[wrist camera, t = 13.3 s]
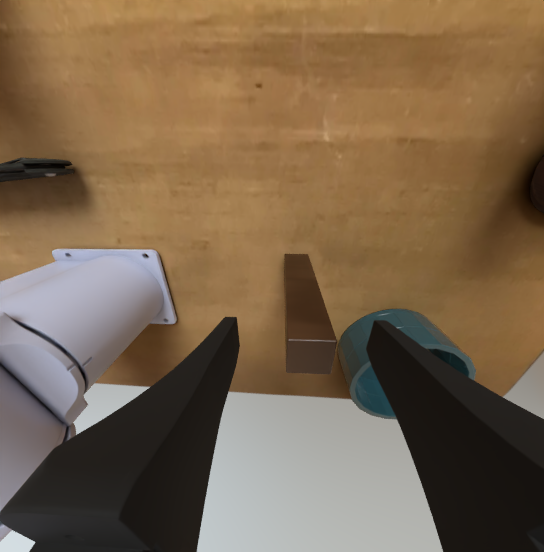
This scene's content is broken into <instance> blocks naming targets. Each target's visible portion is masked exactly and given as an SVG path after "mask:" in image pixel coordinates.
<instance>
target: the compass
mask: <svg viewBox="0 0 544 552" xmlns="http://www.w3.org/2000/svg"><path fill="white" fill-rule="evenodd" d="M530 191H531V200H532V202H533V204H534V206H535V208H537V209H538V210H540V211H541V212H542V213H544V155H543V157H542V159H541V161H540V162H539V164H538V166H537V168H536V169H535V173H534V176H533V180H532V183H531V186H530Z"/></svg>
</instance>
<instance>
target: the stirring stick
mask: <svg viewBox="0 0 544 552" xmlns="http://www.w3.org/2000/svg"><path fill="white" fill-rule="evenodd" d="M284 287H285V345H286V372H287V373H309V374H331V371H332V365H333V360H334V355H335V350H336V344H337V340H336V337H335V334H334V331H333V328H332V325H331V322H330V319H329V316H328V313H327V310H326V307H325V304H324V301H323V298H322V295H321V292H320V289H319V286H318V283H317V280H316V277H315V274H314V271H313V268H312V265H311V262H310V259H309V256H308V254H285V265H284Z"/></svg>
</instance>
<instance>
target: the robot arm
mask: <svg viewBox="0 0 544 552" xmlns="http://www.w3.org/2000/svg"><path fill="white" fill-rule="evenodd" d="M145 254H147V255H148V257H147V256H146V255H145ZM52 255H53V257H54V259H55V261H56V262H53V263H50V264H48V265H45V266H42V267H39V268H37V269H34V270H31V271H28V272H26V273H23V274H20V275H17V276H15V277H12V278H9V279H6V280H4V281H1V282H0V541H1V540H2V539H3V538H4V537H5V536H6V535H7V534H8V533H9V532H10V531H11V530H14V531H15V532H18V533H19V534H22V535H23V536H25V537H27V538H29V539H31V540H33V541H35V542H36V543H35V544H34V546H33V547H32V549H31V550H30V552H197V545H198V539H199V533H200V527H201V521H202V515H203V509H204V503H205V497H206V492H207V486H208V481H209V475H210V469H211V465H212V459H213V454H214V449H215V444H216V439H217V434H218V429H219V424H220V420H221V416H222V412H223V408H224V404H225V401H226V398H227V394H228V391H229V388H230V384H231V381H232V378H233V374H234V371H235V367H236V364H237V358H238V353H239V347H240V344H239V335H238V326H237V317H225V318H224V319H223V320H222V321H221V322H220V323H219V324H218V325H217V326H216V328H215V329H214V330H213V331H212V332H211V333H210V334H209V335H208V336H207V337H206V338H205V340H204V341H203V342H202V343H201V344H200V345H199V346H198V347H197V348H196V349H195V350H194V351H193V352H192V353H191V354H189V355H188V356H187V357H186V358H185V359H184V360H183V361H182V362H181V363H180V364H179V365H178V366H176V367H175V368H174V369H173V370H172V371H171V372H169V373H168V374H167V375H166V376H164V377H163V378H162V379H161V380H159V381H158V382H157V383H155V384H154V385H153V386H151V387H150V388H149V389H147V390H146V391H144V392H143V393H142V394H140V395H139V396H138V397H136V398H135V399H133V400H132V401H130V402H129V403H127V404H126V405H124V406H123V407H122V408H120V409H118V410H117V411H115V412H114V413H112V414H111V415H109V416H107V417H106V418H104V419H103V420H101V421H99V422H98V423H96V424H94V425H93V426H91V427H89V428H88V429H86V430H84V431H83V432H81V433H79V434H77V435H76V429H75V425H74V423H73V422H74V421H75V419H76V418H77V417H78V416H79V415H80V414H81V412H82V411H83V410H84V409H85V408H86V407H87V405H88V404H87V402H86V401H85V399H84V396H83V395H84V394H85V393H86V392H87V391H88V390H89V388H90V387H91V386H92V385H93V384H94V383H95V382H96V381H97V380H98V379H99V378H100V376H101V375H102V374H103V373H104V372H105V371H106V370H107V369H108V368H109V367H110V366H111V365H112V363H113V362H114V361H115V360H116V359H117V358H118V357H119V356H120V355H121V354H122V353H123V351H124V350H125V349H126V348H127V347H128V346H129V345H130V344H131V343H132V342H133V341H134V340H135V338H136V337H137V336H138V335H139V334H140V333H141V332H142V331H143V330H144V329H145V328H146V326H147V325H148V324H174V323H175V322H176V321H177V317H176V314H175V310H174V306H173V303H172V299H171V296H170V292H169V289H168V285H167V282H166V278H165V275H164V271H163V267H162V264H161V260H160V257H159V254H158V252H157V251H155V250H149V249H56V250H53V251H52ZM366 351H367V354H368V357H369V360H370V363H371V366H372V368H373V371H374V373H375V375H376V377H377V379H378V381H379V383H380V385H381V387H382V389H383V391H384V393H385V395H386V397H387V399H388V401H389V404H390V406H391V408H392V410H393V412H394V414H395V416H396V418H397V420H398V423H399V424H400V427H401V430H402V432H403V435H404V437H405V440H406V442H407V445H408V448H409V450H410V453H411V456H412V458H413V461H414V464H415V467H416V469H417V472H418V475H419V478H420V481H421V483H422V486H423V489H424V492H425V495H426V498H427V501H428V504H429V507H430V510H431V513H432V516H433V520H434V523H435V526H436V529H437V533H438V536H439V539H440V542H441V545H442V549H443V552H544V419H542V418H540V417H538V416H536V415H534V414H533V413H531V412H529V411H527V410H525V409H523V408H521V407H520V406H517V405H516V404H514V403H512V402H510V401H508V400H506V399H505V398H503V397H501V396H499V395H498V394H496V393H494V392H492V391H491V390H489V389H487V388H486V387H484V386H482V385H480V384H479V383H477V382H475V381H474V380H472V379H470V378H469V377H467V376H466V375H464V374H462V373H461V372H459V371H458V370H456V369H455V368H453V367H452V366H450V365H449V364H447V363H446V362H444V361H443V360H441V359H440V358H438V357H437V356H435V355H434V354H432V353H431V352H430V351H428V350H427V349H425V348H424V347H423V346H421V345H420V344H418V343H417V342H416V341H414V340H413V339H412V338H410V337H409V336H407V335H406V334H405V333H403V332H402V331H401V330H399V329H398V328H397V327H395V326H394V325H392V324H391V323H389V322H388V321H386V320H374V323H373V326H372V329H371V333H370V336H369V340H368V343H367V347H366Z"/></svg>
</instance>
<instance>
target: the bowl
mask: <svg viewBox="0 0 544 552" xmlns="http://www.w3.org/2000/svg"><path fill="white" fill-rule="evenodd" d="M374 320H386V321H388V322H389V323H391V324H392V325H394V326H395V327H397V328H398V329H399V330H401V331H402V332H403V333H405V334H406V335H407V336H409V337H410V338H412V339H413V340H414V341H416V342H417V343H418V344H420V345H421V346H423V347H424V348H425V349H429V350H430V351H431V353H432V354H434V355H435V356H437V357H438V358H440V359H441V360H443V361H444V362H446V363H447V364H449V365H450V366H452V367H453V368H455V369H456V370H458V371H459V372H461V373H462V374H464V375H466V376H467V377H469V378H470V379H472V380H474V379H475V373H476V369H475V367H474V365H473V362H472V360H471V358H470V357H469V356H468V355H467V354H465V353H464V352H463V351H462V350H461V349H460V348H459V347H458V346H457V345H456V344H455V343H454V342H453V341H452V340H451V339H450V338H449V337H448V336H447V335H446V334H445V333H443V332H442V331H441V330H440V329H439V328H438V327H437V326H436V325H435V324H434V323H432V322H431V321H430V320H429V319H428V318H427V317H425V316H424V315H422V314H420V313H417V312H414V311H411V310H406V309H388V310H382V311H378V312H375V313H372V314H369V315H367V316H364V317H363V318H361V319H359V320H357V321H356V322H355V323H353V324H352V325H351V326H350V327H349V328H348V329H347V330H346V331H345V332H344V334H343V335H342V337H341V339H340V341H339V344H338V356H339V360H340V364H341V367H342V370H343V373H344V377H345V380H346V383H347V386H348V389H349V392H350V396H351V399H352V400H353V402H354V403H355V404H356V405H357V406H358V408H359V409H361V410H363V411H364V412H366V413H368V414H370V415H373V416H376V417H381V418H385V419H397V418H396V416H395V414H394V412H393V410H392V408H391V406H390V404H389V401H388V399H387V397H386V395H385V393H384V391H383V389H382V387H381V385H380V383H379V381H378V379H377V377H376V375H375V373H374V371H373V368H372V366H371V363H370V360H369V357H368V354H367V351H366V347H367V343H368V340H369V336H370V333H371V329H372V326H373V323H374Z"/></svg>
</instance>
